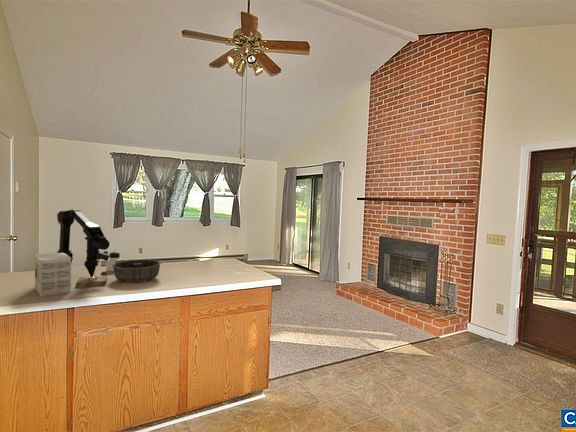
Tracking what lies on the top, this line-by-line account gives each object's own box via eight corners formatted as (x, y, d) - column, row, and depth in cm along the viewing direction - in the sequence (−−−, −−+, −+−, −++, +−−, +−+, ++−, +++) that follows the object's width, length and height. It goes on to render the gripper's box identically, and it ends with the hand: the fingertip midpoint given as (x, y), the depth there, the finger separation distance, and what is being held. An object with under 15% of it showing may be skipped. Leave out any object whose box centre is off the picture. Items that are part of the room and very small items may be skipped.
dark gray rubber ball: (100, 277, 203) (100, 272, 203) (101, 276, 206) (101, 270, 206) (107, 277, 204) (107, 271, 204) (107, 276, 208) (107, 270, 207)
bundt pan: (102, 284, 189) (102, 266, 189) (126, 273, 216) (126, 258, 215) (148, 286, 188) (148, 269, 188) (167, 275, 215) (167, 260, 214)
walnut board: (76, 287, 181) (76, 282, 181) (79, 281, 194) (79, 276, 194) (105, 285, 187) (105, 280, 187) (107, 279, 200) (107, 275, 200)
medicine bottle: (115, 271, 219) (115, 253, 219) (105, 271, 221) (106, 252, 220) (122, 269, 226) (123, 252, 226) (113, 268, 228) (113, 251, 227)
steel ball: (88, 284, 188) (88, 278, 188) (89, 282, 191) (89, 276, 191) (95, 283, 190) (95, 277, 189) (96, 282, 193) (96, 276, 193)
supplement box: (33, 288, 176) (33, 254, 175) (64, 284, 185) (64, 252, 184) (39, 296, 163) (39, 259, 162) (71, 292, 173) (71, 257, 172)
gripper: (107, 250, 184) (107, 278, 185) (109, 245, 201) (109, 271, 202) (84, 250, 180) (84, 279, 180) (88, 245, 196) (87, 272, 197)
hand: (92, 275), depth 190 cm, fingers open, 6 cm apart
